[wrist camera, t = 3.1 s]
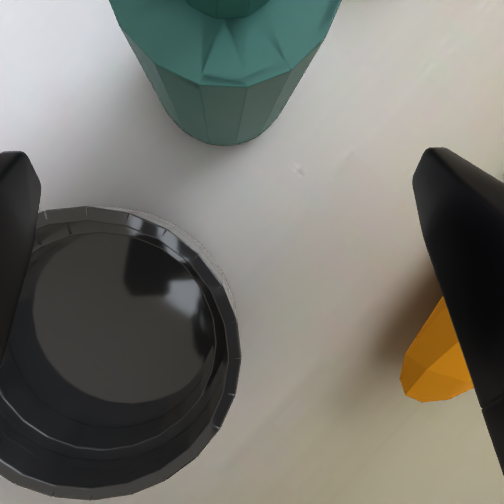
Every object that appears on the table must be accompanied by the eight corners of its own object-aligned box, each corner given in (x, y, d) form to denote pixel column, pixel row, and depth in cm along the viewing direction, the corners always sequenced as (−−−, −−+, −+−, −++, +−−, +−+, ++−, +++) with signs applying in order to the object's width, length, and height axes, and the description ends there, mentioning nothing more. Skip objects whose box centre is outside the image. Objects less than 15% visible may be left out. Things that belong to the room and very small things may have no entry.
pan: (181, 474, 23) (171, 538, 18) (-46, 392, 21) (-116, 440, 17) (273, 266, 22) (287, 280, 17) (45, 167, 20) (-4, 155, 16)
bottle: (255, 166, 21) (304, 102, 9) (138, 112, 21) (12, -40, 8) (307, 48, 21) (433, -191, 8) (188, -12, 20) (137, -369, 8)
